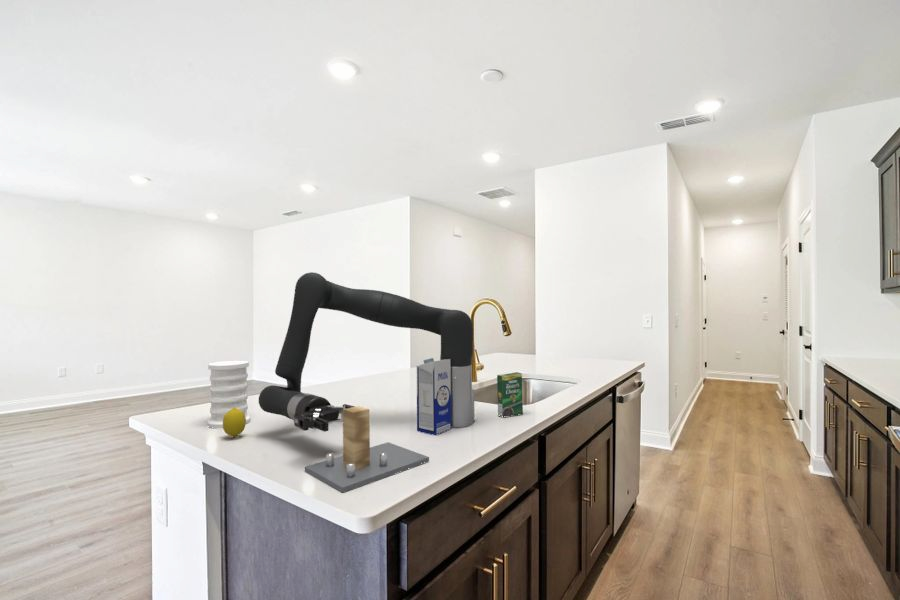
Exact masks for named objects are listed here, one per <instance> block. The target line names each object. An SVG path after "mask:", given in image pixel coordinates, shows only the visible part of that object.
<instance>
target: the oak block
mask: <svg viewBox="0 0 900 600" xmlns="http://www.w3.org/2000/svg"><path fill="white" fill-rule="evenodd" d="M370 419H371V418H370V408H367V407H364V406H361V405H357V406H355V407H351V408H347V409H343V422H342V435H343V436H342V456H343V466H345V467H347V463H349V462H354V463H355V470H357V469H360V468H364V467H367V466H370V446H371V444H370V443H371V442H370V441H371V439H370V437H371V436H370V435H371V434H370V433H371V432H370V431H371V430H370V427H371V426H370V424H371V422H370Z"/></svg>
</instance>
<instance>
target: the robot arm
mask: <svg viewBox="0 0 900 600" xmlns="http://www.w3.org/2000/svg"><path fill="white" fill-rule="evenodd" d="M319 309H324V310H330V311H337V312H343V313H347V314H349V315H353V316H354V317H357V318H360V319H364V320H366V321H371V322H373V323H378V324H382V325H385V326H389V327H397V328H403V329H404V328H406V329H416V330H423V331H427V332H430V333H433V334H434V335H435V334H436V335H439V336H440V359H439V360H445V359H450V374H451V428H465V427H466V428H467V427H470V426H471V425H472V424H473V423H474V422H475V389H473V381H472V380H473V377H472V376H473V373H472V370H473V369H472V367H473V366H472V365H473V361H472V360H473V351H474V349H473V347H474V345H473V344H474V327H473V326H474V325H473V321H472V319H471V317H470V316H469V315H468V314H467V313H466V312H464V311H462V310H458V309H447V308H440V307H435V306H429V305H426V304H422V303H421V302H419V301H418V302H417V301H415V300H412V299H410V298H407V297H405V296H401V295H399V294H393V293H390V292H386V291H383V290H376V289H375V290H374V289H363V288H362V289H361V288H353V287H352V288H350V287H347V286H344V285H340V284H338V283H334V282H333V281H330V280H327V279H326V277H324V276H323V275H322V274H320V273H317V272H311V271H310V272H306V273H304V274H301V276H300V277H299V278H298V279H297V281H296V283H295V287H294V296H293V303H292V309H291V314H290V320H289V323H288V328H287V331H286V334H285V338H284V341H283V344H282V347H281V350H280V353H279V357H278V359H277V364H276V367H275V370H274V372H275V375H276V376H278V377H280V378H282V379H284V380H286V383H287V384H286V385H287V386H280V385H267V386H266V387H264V388H263V389H262V390H261V391H260V393H259V396H258V404H259V407H260V408H261V410H262V411H263V412H266V413H269V414H273V415H278V416H279V415H280V416H283V417H286V418H288V419H289V420H292V421H293V425H294V426H295V427H296V428H298V429H300V430H302V431H309V430H310V429H311V430H313V431H314V430H315V431H316V430H319V431H321V432H328V431H329V424H333V423H342V424H343V409H347V408H351V407H356V406H355V405H350V404H346V403H345V404H342V406H335V405H332V404H331V403H330V401H329V400H328V399H326V398H325V397H323V396H319V395H316V394H312V393H306V392H301V391H302V388H301V387H302V375H303V371H304V368H305V363H306V360H307V358H308V355H309V347H310V342H311V335H312V330H313V329H312V328H313V324H314V321H315V318H316V315H317V313H318V311H319ZM339 417H340V418H339Z"/></svg>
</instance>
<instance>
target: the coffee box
mask: <svg viewBox="0 0 900 600" xmlns="http://www.w3.org/2000/svg"><path fill="white" fill-rule="evenodd" d="M496 382H497V384H496V385H497V416H498V415H500V416H503V417H504V416H510V417H512V416H511V415H515V416H519V415H518V414H521V415H523V414H524V408H523V405H524V403H523V400H524V399H523V374H522V373H521V372H517V371H516V372H511V373H510V372H509V373H502V374H497V375H496ZM500 416H499V417H500ZM504 418H505V417H504Z"/></svg>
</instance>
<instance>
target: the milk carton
mask: <svg viewBox="0 0 900 600" xmlns="http://www.w3.org/2000/svg"><path fill="white" fill-rule="evenodd" d="M416 429H417V430H416V432H419V431H420V433H423V432H424V434H428V433H429V435H432V434H433V436H437V434H438V435H440V434H442V432H443V433H445V432H447V430H448V431H450V430H449V429H451V430H452V427H451V374H450V359H445V360H440V359H439V360H434V357H431V358H428V359H423V364H419V365H416ZM444 431H445V432H444ZM439 433H440V434H439Z"/></svg>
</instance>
